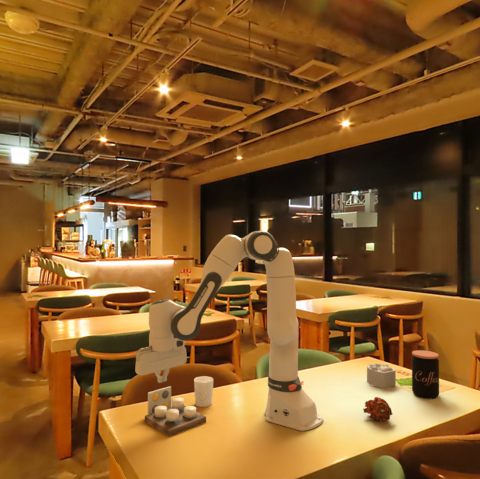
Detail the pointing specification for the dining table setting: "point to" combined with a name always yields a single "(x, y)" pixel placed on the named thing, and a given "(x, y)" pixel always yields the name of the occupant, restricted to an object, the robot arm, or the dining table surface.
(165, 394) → the card
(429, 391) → the coffee jar
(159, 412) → the button
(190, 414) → the button
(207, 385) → the white cup
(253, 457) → the dining table surface
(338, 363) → the dining table surface
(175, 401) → the button
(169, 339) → the robot arm
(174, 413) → the button
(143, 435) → the dining table surface
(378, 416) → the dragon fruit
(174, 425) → the board
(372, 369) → the grey toy brick
